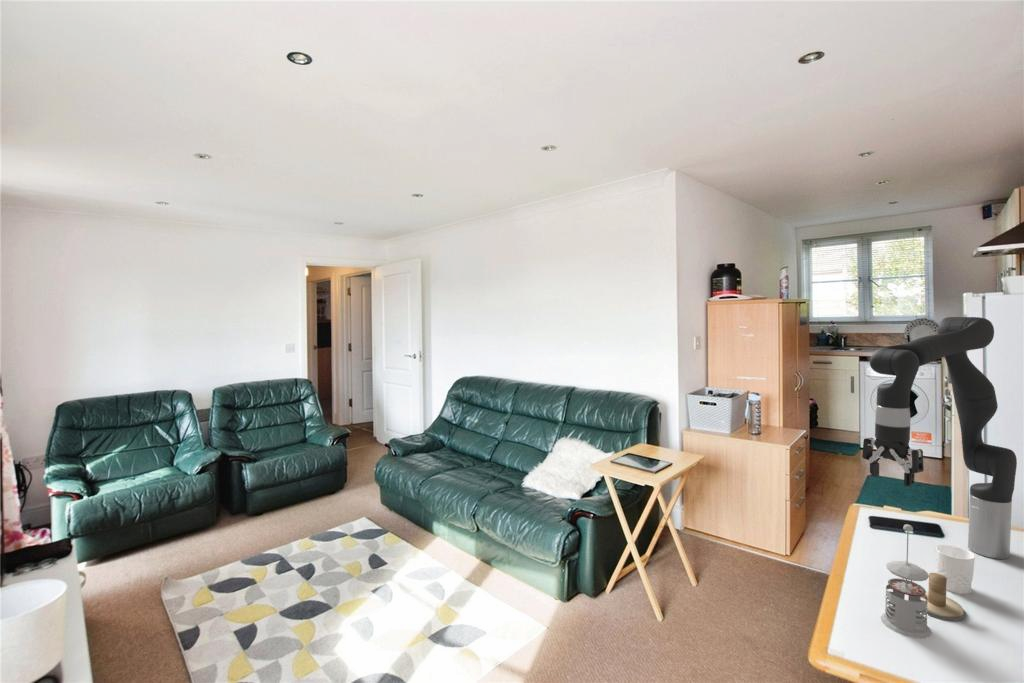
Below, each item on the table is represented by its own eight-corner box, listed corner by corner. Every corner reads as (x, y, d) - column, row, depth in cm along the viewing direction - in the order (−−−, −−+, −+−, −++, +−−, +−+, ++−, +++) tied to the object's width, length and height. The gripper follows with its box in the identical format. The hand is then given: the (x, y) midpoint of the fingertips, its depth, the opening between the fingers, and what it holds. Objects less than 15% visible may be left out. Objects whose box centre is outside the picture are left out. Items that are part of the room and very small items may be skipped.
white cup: (981, 597, 129) (982, 560, 129) (946, 594, 131) (947, 558, 130) (960, 580, 137) (961, 545, 136) (928, 578, 139) (929, 543, 138)
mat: (926, 591, 133) (926, 589, 133) (976, 614, 122) (976, 613, 122) (899, 600, 129) (899, 598, 129) (947, 625, 119) (947, 623, 119)
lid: (927, 591, 132) (928, 562, 131) (973, 612, 123) (974, 582, 122) (902, 599, 129) (903, 570, 128) (946, 622, 119) (947, 591, 119)
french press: (878, 627, 119) (881, 526, 117) (882, 604, 128) (884, 510, 126) (932, 644, 113) (935, 538, 111) (931, 618, 121) (935, 520, 120)
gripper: (931, 426, 128) (929, 487, 129) (875, 415, 141) (874, 471, 143) (911, 430, 126) (910, 492, 127) (856, 418, 139) (855, 474, 140)
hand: (891, 480), depth 135 cm, fingers open, 8 cm apart
